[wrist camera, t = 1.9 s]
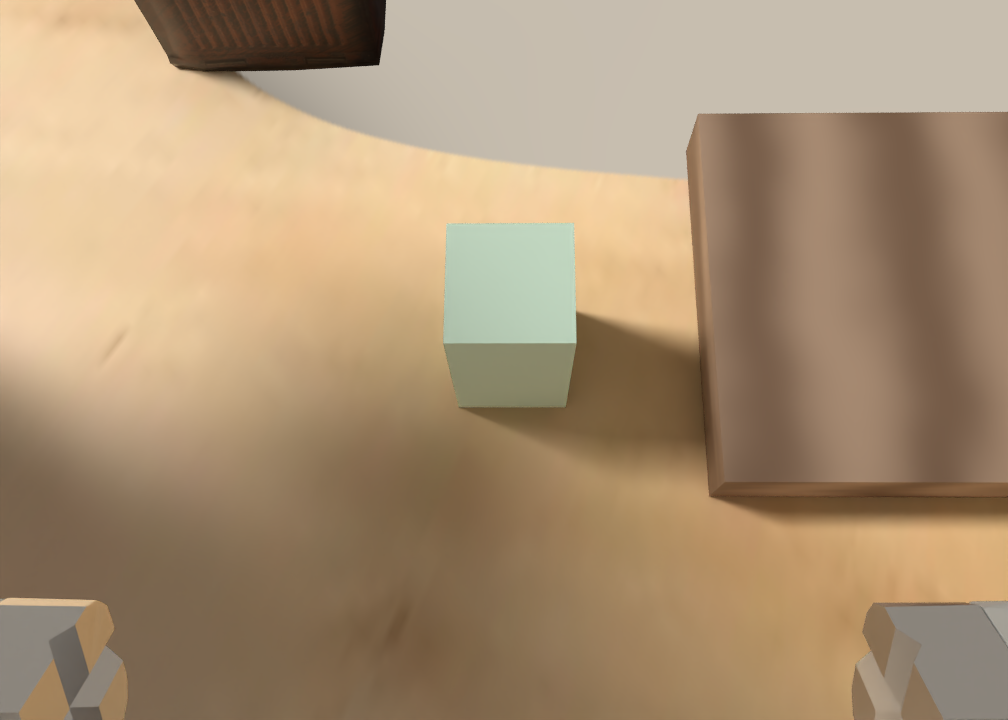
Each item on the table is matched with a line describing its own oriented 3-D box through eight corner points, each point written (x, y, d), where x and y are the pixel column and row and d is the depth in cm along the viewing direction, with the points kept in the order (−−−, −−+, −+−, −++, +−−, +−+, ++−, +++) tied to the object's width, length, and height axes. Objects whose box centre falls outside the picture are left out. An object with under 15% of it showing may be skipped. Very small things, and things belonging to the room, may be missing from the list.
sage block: (458, 407, 38) (443, 343, 31) (460, 308, 40) (446, 223, 32) (565, 407, 38) (576, 343, 31) (564, 307, 40) (573, 223, 32)
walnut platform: (709, 496, 37) (724, 482, 34) (686, 151, 42) (698, 113, 39) (1109, 497, 37) (1158, 482, 34) (1036, 149, 42) (1074, 111, 39)
